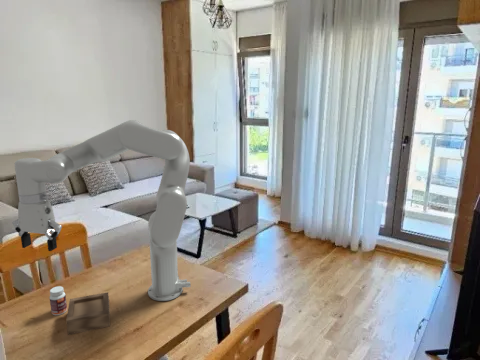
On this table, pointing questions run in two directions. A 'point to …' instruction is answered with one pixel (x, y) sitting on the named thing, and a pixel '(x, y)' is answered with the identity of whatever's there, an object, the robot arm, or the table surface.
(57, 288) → the pill bottle
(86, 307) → the walnut tray
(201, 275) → the table surface
